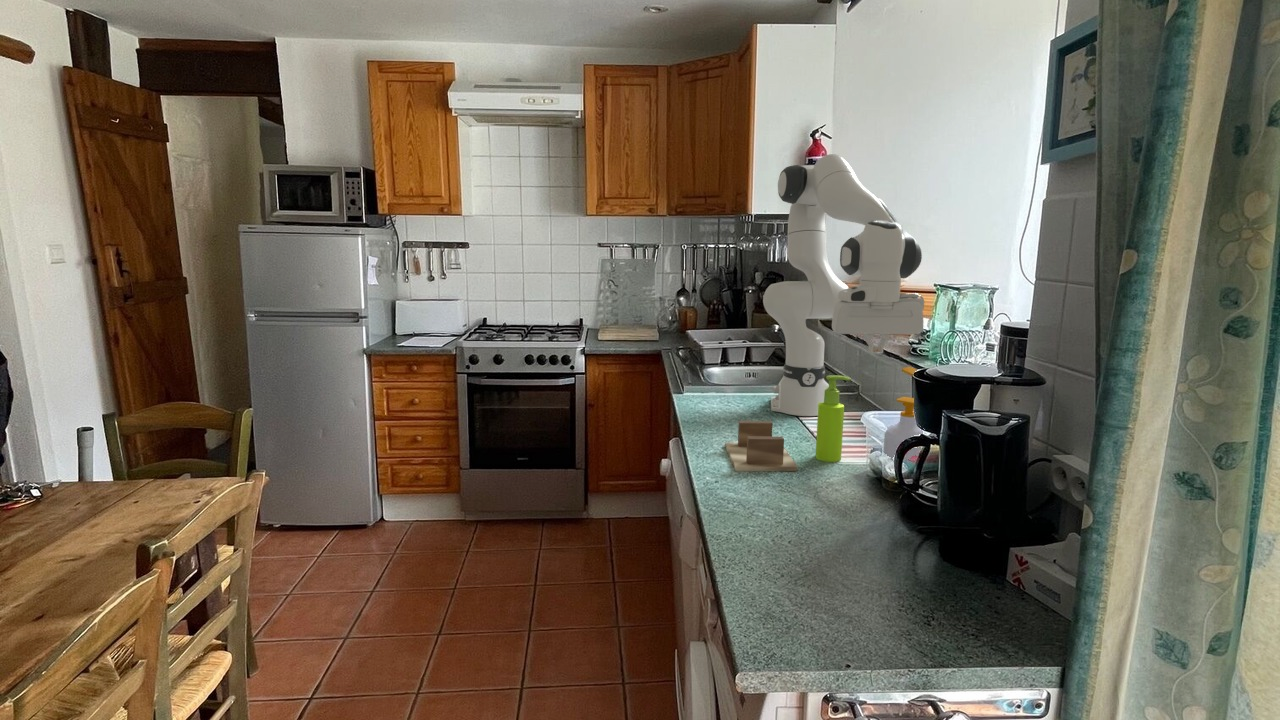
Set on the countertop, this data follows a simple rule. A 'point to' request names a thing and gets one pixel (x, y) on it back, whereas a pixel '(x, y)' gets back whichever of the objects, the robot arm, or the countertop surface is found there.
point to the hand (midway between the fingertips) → (875, 353)
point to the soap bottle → (903, 426)
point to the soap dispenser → (830, 423)
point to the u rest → (759, 449)
